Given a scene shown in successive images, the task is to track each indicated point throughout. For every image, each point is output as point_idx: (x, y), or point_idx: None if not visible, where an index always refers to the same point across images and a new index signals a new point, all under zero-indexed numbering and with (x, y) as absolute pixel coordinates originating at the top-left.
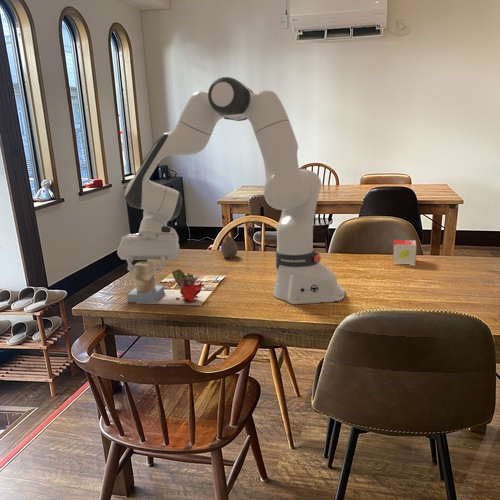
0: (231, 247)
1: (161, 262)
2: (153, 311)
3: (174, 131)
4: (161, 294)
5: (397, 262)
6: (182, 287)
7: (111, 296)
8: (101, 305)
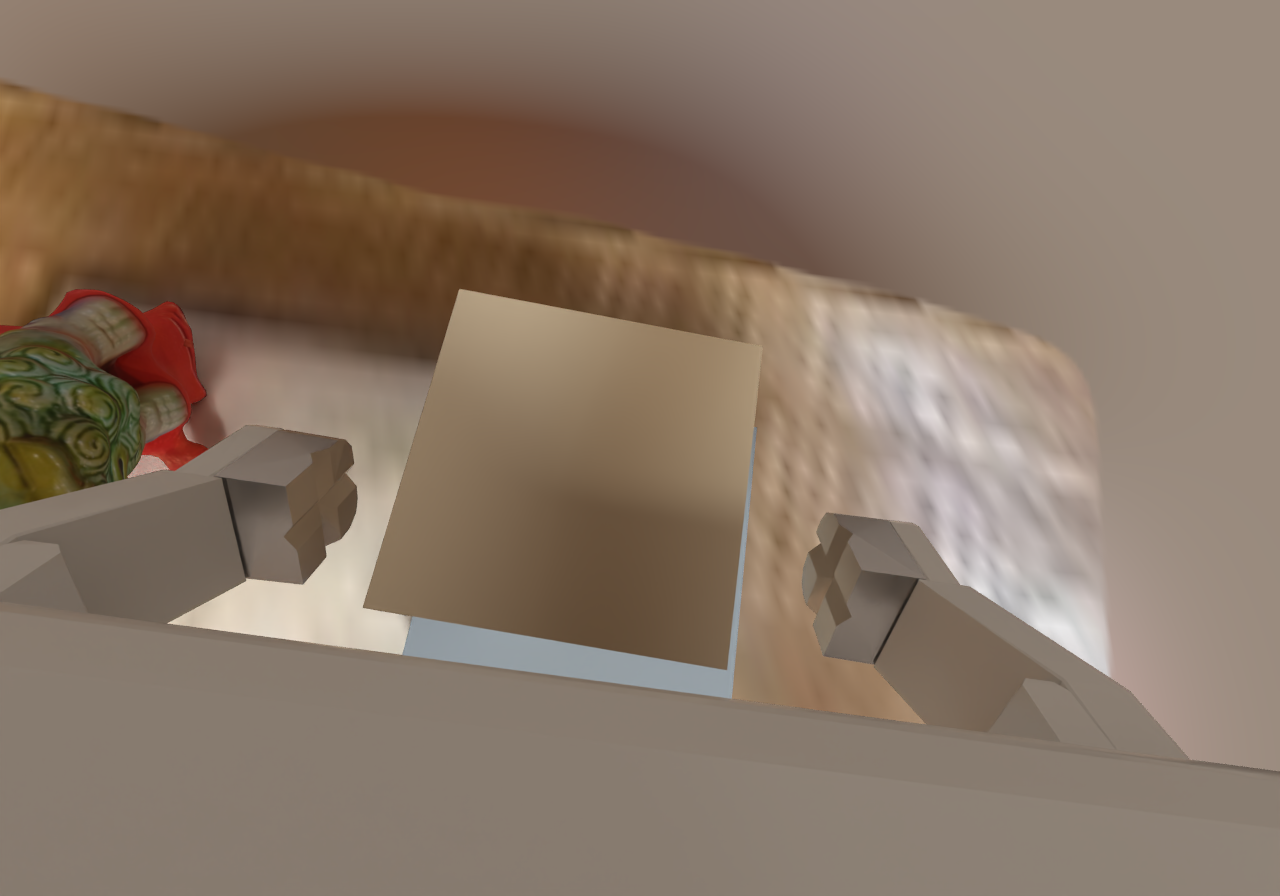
0: None
1: (126, 482)
2: (472, 224)
3: None
4: None
5: None
6: (94, 294)
7: None
8: (927, 392)
